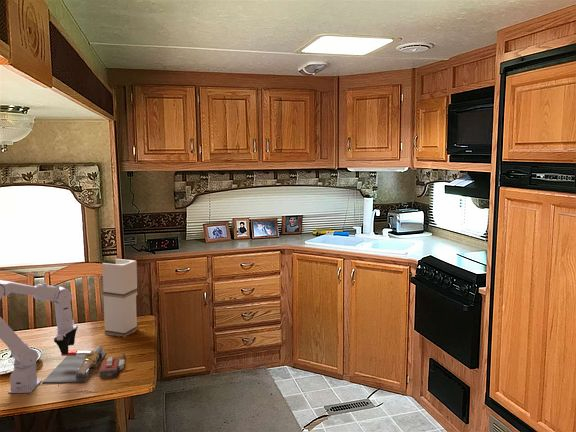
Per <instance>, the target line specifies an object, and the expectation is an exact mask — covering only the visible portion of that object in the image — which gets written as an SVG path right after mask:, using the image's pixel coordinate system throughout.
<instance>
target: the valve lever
mask: <svg viewBox="0 0 576 432" xmlns="http://www.w3.org/2000/svg"><path fill="white" fill-rule="evenodd" d="M60 353H61V352H60ZM93 354H94V350H78V349H68V354H62V353H61V354H60V356H61V357H66V356H76V355H93Z"/></svg>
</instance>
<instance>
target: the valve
mask: <svg viewBox="0 0 576 432" xmlns="http://www.w3.org/2000/svg"><path fill="white" fill-rule="evenodd" d="M93 351H94V354H93V355H84V357H85V360H84V361H83V362H82V366H81V367H80V368H79V369H78V370H77V371H76V378H87V377H88V376H89V369H91V368H94V367H96V366H97V367H98V365H97V364H96V361H97V360H98V358H102V357H103V356H104V353H105V350H104V348H103V346H101V345H98V346H96V347H95V349H94V350H93ZM104 357H105V356H104ZM104 357H103V358H104ZM97 367H96V368H97ZM89 377H90V376H89ZM89 377H88V378H89Z"/></svg>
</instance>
